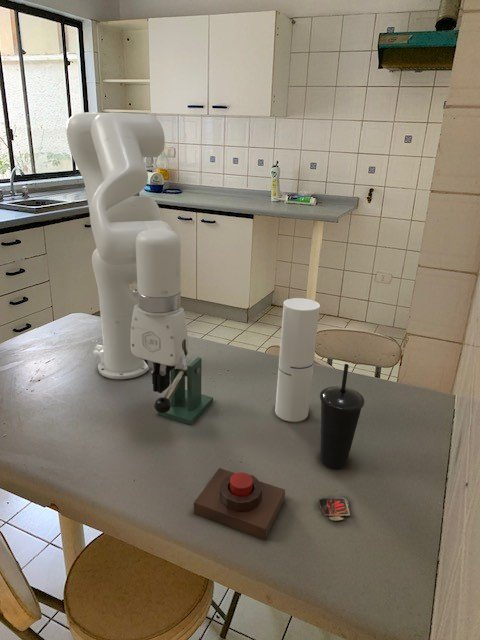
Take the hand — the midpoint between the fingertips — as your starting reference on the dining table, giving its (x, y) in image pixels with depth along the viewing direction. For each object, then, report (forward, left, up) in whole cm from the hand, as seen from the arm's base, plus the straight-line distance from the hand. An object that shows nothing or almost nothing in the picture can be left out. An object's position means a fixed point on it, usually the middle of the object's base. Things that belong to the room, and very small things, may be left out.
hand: (161, 388), depth 90 cm
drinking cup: (+33, +6, -10) cm, 35 cm away
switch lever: (0, +5, -3) cm, 6 cm away
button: (+22, -12, -6) cm, 26 cm away
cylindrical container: (+21, +18, -10) cm, 29 cm away
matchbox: (+36, -6, -9) cm, 38 cm away
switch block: (+22, -12, -9) cm, 27 cm away
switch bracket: (0, +9, -9) cm, 13 cm away
